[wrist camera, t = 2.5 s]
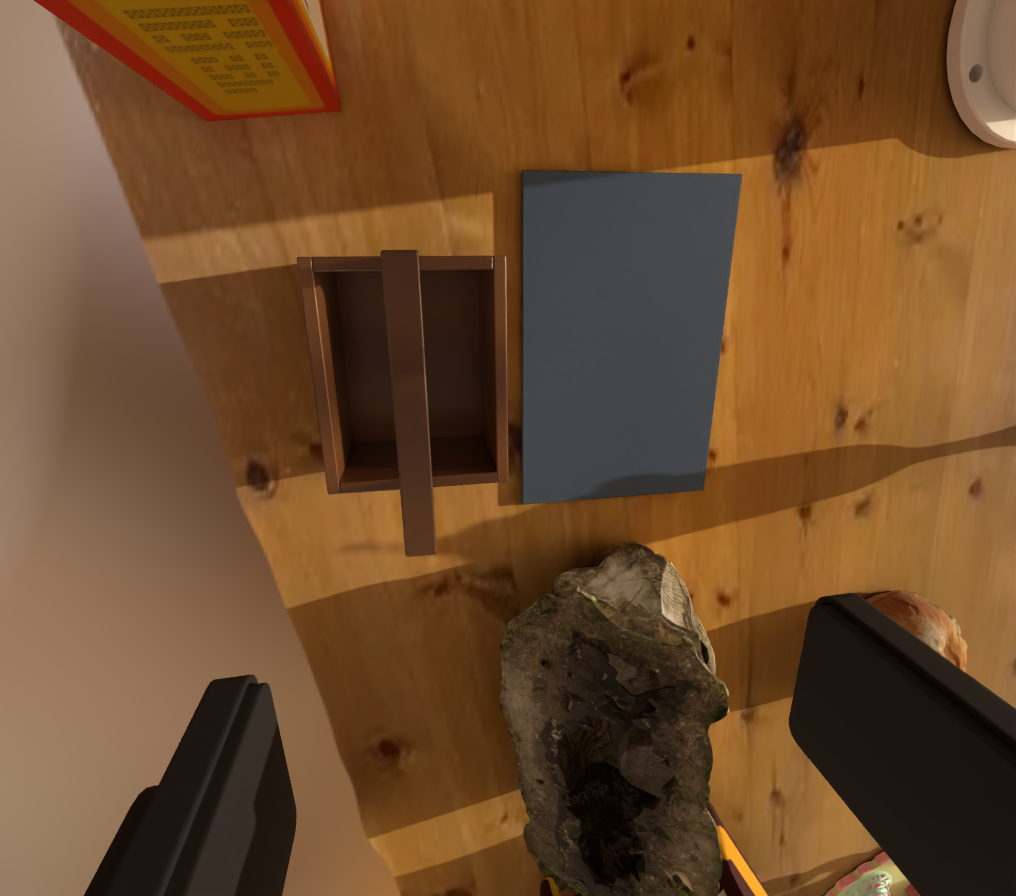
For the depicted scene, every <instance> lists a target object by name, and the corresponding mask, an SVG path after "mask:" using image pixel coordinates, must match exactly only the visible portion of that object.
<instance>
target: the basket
mask: <svg viewBox="0 0 1016 896" xmlns="http://www.w3.org/2000/svg"><path fill="white" fill-rule="evenodd" d="M297 263H298V271H299V279H300V286H301V294H302V301H303V309H304V316H305V324H306V331H307V339H308V347H309V354H310V362H311V369H312V377H313V384H314V392H315V400H316V407H317V415H318V422H319V430H320V437H321V445H322V452H323V460H324V468H325V475H326V483H327V490H328V494H329V495H330V494H340V493H342V494H343V493H357V492H371V491H385V490H399V489H400V494H401V506H402V518H403V530H404V542H405V554H406V556H407V557H412V556H423V555H434V554H436V553H437V546H436V530H435V513H434V497H433V487H441V486H455V485H469V484H483V483H496V482H508V397H507V295H506V256H419V253H418V251H417V250H382V251H381V256H367V257H297Z"/></svg>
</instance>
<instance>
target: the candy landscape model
mask: <svg viewBox="0 0 1016 896" xmlns="http://www.w3.org/2000/svg"><path fill="white" fill-rule="evenodd" d="M824 896H920V895H919V893H918V892H917V891H916V890H915V889H914V887H913V886H912V885H911V884H910V882H909V881H908V880H907V879H906V877H905V876H904V875H903V874H902V872H901V871H900V870H899V869H898V868H897V866H896V865H895V864H894V863H893V861H892V860H891V859H890V858H889V856H888V855H887V854H886V853H885V852H882V853H880V854H879V855H877V856H875V858H874V859H873V860H872V861H869V862H865V863H863V864H861V865H859V866H858V867H857V868H856V870H855V871H853V872H851V873H849V874H848V875H846V876H844V877H843V878H841V879H839V880H838V881H837V882H836V884H835V886H834V887H833V888H832V889H830V890H828V892H827V893H826V894H825V895H824Z"/></svg>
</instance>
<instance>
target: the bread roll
mask: <svg viewBox="0 0 1016 896" xmlns="http://www.w3.org/2000/svg"><path fill="white" fill-rule="evenodd" d="M866 601H868V602H869V603H871V604H872V605H873V606H875V607H876V608H877V609H879V610H880V611H882V612H883V613H884V614H886V615H887V616H888V617H890V618H891V619H893V620H894V621H895V622H897V623H898V624H899V625H901V626H902V627H904V628H905V629H906V630H908V631H909V632H910V633H912V634H913V635H915V636H916V637H917V638H919V639H920V640H921V641H923V642H924V643H926V644H927V645H928V646H930V647H931V648H932V649H934V650H935V651H937V652H938V653H939V654H941V655H942V656H943V657H945V658H946V659H948V660H949V661H950V662H952V663H953V664H954V665H956V666H957V667H959V668H960V669H961V670H963V671H964V672H966V664H967V654H966V651H967V647H968V645H967V643H966V642H965V641H964V640H963V639H962V638H961V637H960V627H959V626H958V624H957V622H956V620H955V619H954V618H952V617H951V616H950V615H949V616H948V614H947V613H946V612H944V611H943V610H942V609H941V608H940V607H939V606H938V605H937V604H936V603H933V602H931V601H929V600H927V599H925V598H924V597H921V596H919V595H918V594H916V593H915V592H914V593H911V592H906V591H896V590H893V591H890V592H886V593H881V594H877V595H875V596H873V597H871V598H868V599H866Z"/></svg>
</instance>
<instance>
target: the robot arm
mask: <svg viewBox="0 0 1016 896" xmlns="http://www.w3.org/2000/svg"><path fill="white" fill-rule="evenodd" d="M946 59H947V74H948V83H949V87H950V91H951V95H952V99H953V102H954V104H955V107H956V109H957V111H958V113H959V115H960V117H961V119H962V120H963V122H964V123H965V124H966V125H967V127H968V128H969V129H970V131H971V132H972V133H974V134H975V135H976V136H978V137H979V138H980V139H982V140H983V141H984V142H987V143H989V144H992V145H994V146H997V147H1001V148H1012V149H1016V0H957V1H956V4H955V6H954V10H953V15H952V19H951V24H950V28H949V33H948V44H947V57H946ZM789 727H790V731H791V734H792V736H793V738H794V740H795V741H796V743H797V744H798V746H799V747H800V748H801V749H802V751H803V752H804V753H805V754H806V755H807V757H808V758H809V759H810V760H811V762H812V763H813V764H814V765H815V767H816V768H817V769H818V770H819V771H820V773H821V774H822V775H823V776H824V778H825V779H826V780H827V781H828V783H829V784H830V785H831V786H832V788H833V789H834V790H835V791H836V792H837V794H838V795H839V796H840V797H841V799H842V800H843V801H844V802H845V804H846V805H847V806H848V807H849V808H850V810H851V811H852V812H853V813H854V815H855V816H856V817H857V818H858V820H859V821H860V822H861V823H862V824H863V826H864V827H865V828H866V829H867V831H868V832H869V833H870V834H871V836H872V837H873V838H874V839H875V840H876V842H877V843H878V844H879V845H880V847H881V848H882V849H883V850H884V852H885V853H886V854H887V855H888V856H889V858H890V859H891V860H892V861H893V863H894V864H895V865H896V866H897V868H898V869H899V870H900V871H901V872H902V874H903V875H904V876H905V877H906V879H907V880H908V881H909V882H910V884H911V885H912V886H913V887H914V889H915V890H916V891H917V892H918V893H919V895H920V896H1016V709H1015V708H1014V707H1012V706H1011V705H1010V704H1008V703H1007V702H1005V701H1004V700H1003V699H1001V698H1000V697H999V696H997V695H996V694H994V693H993V692H992V691H990V690H989V689H988V688H986V687H985V686H983V685H982V684H981V683H979V682H978V681H977V680H975V679H974V678H972V677H971V676H970V675H968V674H967V673H966V672H964V671H963V670H961V669H960V668H959V667H957V666H956V665H954V664H953V663H952V662H950V661H949V660H948V659H946V658H945V657H943V656H942V655H941V654H939V653H938V652H937V651H935V650H934V649H932V648H931V647H930V646H928V645H927V644H926V643H924V642H923V641H921V640H920V639H919V638H917V637H916V636H915V635H913V634H912V633H910V632H909V631H908V630H906V629H905V628H904V627H902V626H901V625H899V624H898V623H897V622H895V621H894V620H893V619H891V618H890V617H888V616H887V615H886V614H884V613H883V612H882V611H880V610H879V609H877V608H876V607H875V606H873V605H872V604H871V603H869V602H868V601H866V600H865V599H864V598H862V597H861V596H859V595H857V594H853V593H847V594H840V595H832V596H825V597H821V598H819V599H818V600H817V601H816V604H815V607H813V608H812V609H811V610H810V612H809V616H808V622H807V627H806V632H805V637H804V643H803V648H802V653H801V659H800V664H799V669H798V674H797V680H796V685H795V690H794V695H793V701H792V706H791V711H790V716H789ZM295 830H296V806H295V801H294V796H293V792H292V787H291V782H290V777H289V773H288V769H287V763H286V759H285V754H284V750H283V745H282V740H281V736H280V731H279V727H278V722H277V718H276V713H275V708H274V703H273V699H272V694H271V690H270V687H269V684H268V683H261V684H258V682H257V679H256V677H255V676H254V675H245V676H237V677H230V678H223V679H215V680H213V681H212V682H210V684H209V685H208V687H207V689H206V691H205V693H204V695H203V697H202V699H201V701H200V703H199V705H198V707H197V709H196V711H195V713H194V715H193V717H192V719H191V721H190V723H189V725H188V727H187V729H186V731H185V733H184V735H183V737H182V739H181V741H180V743H179V745H178V747H177V749H176V751H175V753H174V755H173V757H172V759H171V761H170V763H169V765H168V767H167V769H166V771H165V773H164V776H163V778H162V779H161V782H160V783H159V785H157V786H152V787H148V788H146V789H145V790H143V792H141V793H140V794H139V795H138V797H137V798H136V800H135V801H134V803H133V804H132V806H131V807H130V809H129V811H128V813H127V815H126V817H125V819H124V821H123V822H122V824H121V826H120V828H119V830H118V832H117V834H116V836H115V838H114V839H113V842H112V843H111V845H110V847H109V849H108V851H107V853H106V855H105V857H104V858H103V860H102V862H101V864H100V866H99V868H98V870H97V872H96V874H95V876H94V877H93V879H92V881H91V883H90V885H89V887H88V889H87V891H86V892H85V894H84V896H282V892H283V888H284V883H285V878H286V873H287V869H288V864H289V859H290V855H291V850H292V845H293V841H294V836H295Z"/></svg>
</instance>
